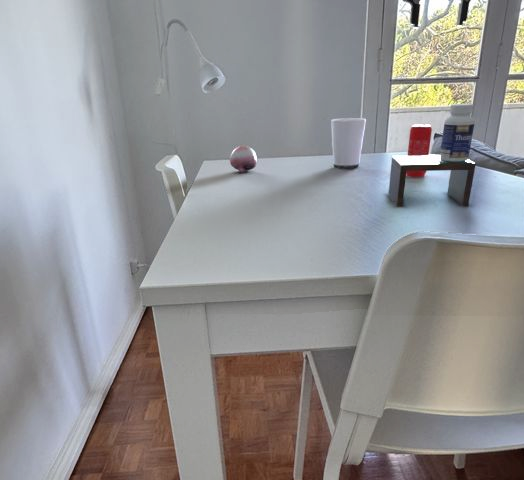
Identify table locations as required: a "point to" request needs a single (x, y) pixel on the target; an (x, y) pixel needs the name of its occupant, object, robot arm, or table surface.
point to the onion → (243, 158)
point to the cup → (347, 141)
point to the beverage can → (419, 145)
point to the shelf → (458, 177)
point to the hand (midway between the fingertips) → (437, 27)
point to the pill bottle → (457, 134)
